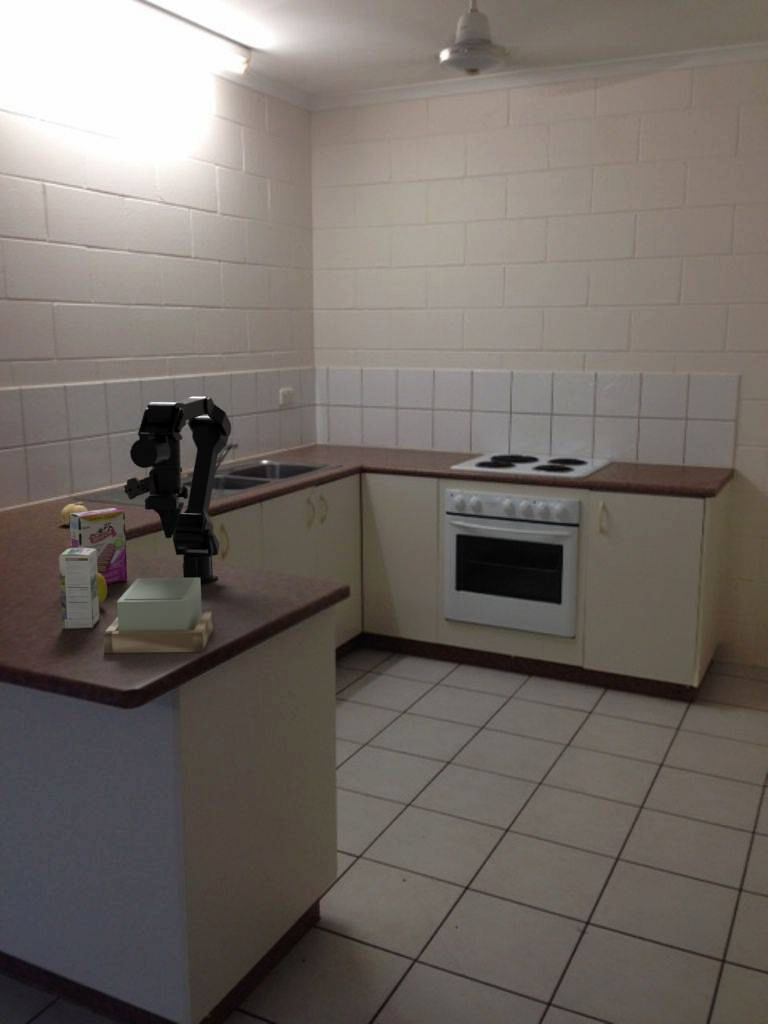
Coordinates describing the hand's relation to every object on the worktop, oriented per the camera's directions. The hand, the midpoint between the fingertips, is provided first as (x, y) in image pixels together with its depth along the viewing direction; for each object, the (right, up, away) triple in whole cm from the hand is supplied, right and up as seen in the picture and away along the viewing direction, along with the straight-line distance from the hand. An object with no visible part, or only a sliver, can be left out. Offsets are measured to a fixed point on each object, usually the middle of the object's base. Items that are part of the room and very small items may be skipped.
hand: (168, 537), depth 192 cm
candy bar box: (-19, -11, +15) cm, 26 cm away
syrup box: (-13, -16, -15) cm, 26 cm away
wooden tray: (+4, -18, -25) cm, 31 cm away
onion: (-46, +1, +79) cm, 91 cm away
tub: (+4, -18, -21) cm, 28 cm away
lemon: (-14, -14, -4) cm, 21 cm away
